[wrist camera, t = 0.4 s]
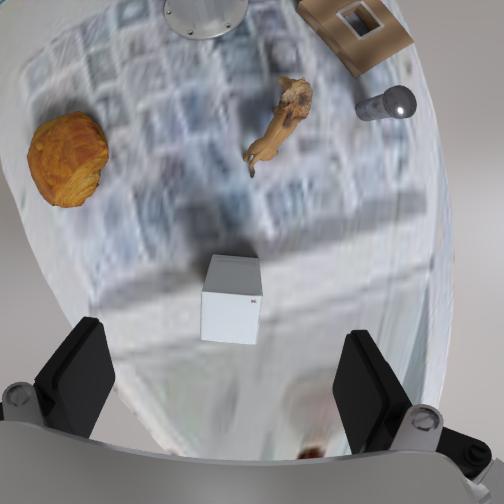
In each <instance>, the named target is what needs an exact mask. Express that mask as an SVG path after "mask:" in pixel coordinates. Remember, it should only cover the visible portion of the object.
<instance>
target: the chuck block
mask: <svg viewBox="0 0 504 504" xmlns="http://www.w3.org/2000/svg"><path fill="white" fill-rule="evenodd" d="M296 12H297V13H298V14H299V15H300V16H301V17H302V18H303V19H304V20H305V21H306V22H307V23H308V25H309V26H310V27H311V28H312V29H313V30H314V31H315V32H316V33H317V34H318V35H319V36H320V37H321V38H322V40H323V41H324V42H325V43H326V44H327V45H328V46H329V47H330V49H331V50H332V51H333V52H334V53H335V54H336V56H337V57H338V58H339V59H340V60H341V62H342V63H343V64H344V65H345V66H346V68H347V69H348V70H349V71H350V73H351V74H352V75H353V77H354V78H356V77H358V76H360V75H361V74H363V73H365V72H366V71H368V70H369V69H371V68H372V67H374V66H376V65H377V64H379V63H380V62H382V61H384V60H385V59H387V58H388V57H390V56H392V55H393V54H395V53H397V52H398V51H400V50H402V49H403V48H405V47H407V46H408V45H410V44H412V43H414V41H413V39H412V38H411V37H410V35H409V34H408V33H407V32H406V30H405V29H404V28H403V26H402V25H401V24H400V23H399V22H398V20H397V19H396V18H395V17H394V16H393V14H392V13H391V12H390V11H389V10H388V9H387V7H386V6H385V5H384V4H383V3H382V2H381V1H380V0H302V1H300V2H299V4H298V7H297V9H296ZM352 12H354V13H355V14H356V15H357V16H358V17H359V18H360V19H361V21H362V22H363V23H364V24H365V25H366V26H367V27H368V29H369V30H370V32H369V33H367V34H365V35H363V36H361V37H360V36H359V34H358V33H357V32H356V31H355V30H354V29H353V28H352V26H351V25H350V24H349V23H348V22H347V21H346V20H345V19H344V18H343V17H344V16H346V15H348V14H350V13H352Z"/></svg>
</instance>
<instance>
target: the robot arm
mask: <svg viewBox="0 0 504 504" xmlns="http://www.w3.org/2000/svg"><path fill="white" fill-rule="evenodd" d="M247 10H248V0H243V1H241V0H166V3H165V6H164V16H165V19H166V22H167V24H168V25H169V27H170V28H171V29H172V30H173V31H174V32H175V33H177V34H178V35H180V36H182V37H185V38H188V39H193V40H209V39H214V38H218V37H221V36H223V35H226V34H228V33H229V32H231V31H233V30H234V29H235V28H236V27H237V26H239V25H240V23H241V22H242V21H243V20H244V18H245V16H246V14H247ZM169 14H170V15H169ZM228 26H229V27H230V28H227V27H228ZM191 33H193V34H192V35H190V34H191ZM34 380H35V383H34V385H33V386H32V385H31V384H29V383H27V382H17V383H14V384H11V385H10V386H8V387H7V389H5V391H4V393H3V395H2V402H1V403H0V504H504V463H503V462H502V461H501V460H499V459H498V458H496V459H495V460H493V459H492V454H491V450H490V448H489V447H488V446H487V445H486V444H485V443H484V442H482V441H480V440H478V439H475V438H472V437H469V436H467V435H464V434H461V433H458V432H456V431H453V430H451V429H448V428H446V427H443V417H442V415H441V414H440V412H439V411H438V410H437V409H435V408H434V407H432V406H429V405H425V404H418V405H414V406H413V405H412V403H411V402H410V400H409V398H408V396H407V394H406V393H405V391H404V389H403V387H402V386H401V384H400V382H399V381H398V379H397V377H396V375H395V374H394V372H393V370H392V368H391V367H390V365H389V364H388V362H386V361H385V359H384V357H383V356H382V354H381V352H380V351H379V349H378V347H377V346H376V344H375V342H374V341H373V339H372V337H371V336H370V334H369V332H368V331H367V330H352V331H351V333H350V334H347V335H346V338H345V342H344V346H343V350H342V354H341V358H340V361H339V365H338V369H337V372H336V376H335V379H334V383H333V395H334V398H335V401H336V404H337V407H338V410H339V414H340V417H341V420H342V423H343V426H344V429H345V433H346V436H347V439H348V442H349V446H350V449H351V452H352V455H345V456H336V457H326V458H315V459H301V460H281V461H237V460H216V459H202V458H191V457H182V456H174V455H166V454H159V453H153V452H147V451H141V450H136V449H130V448H125V447H121V446H116V445H112V444H107V443H103V442H99V441H95V440H91V439H89V437H90V435H91V432H92V430H93V428H94V425H95V423H96V421H97V419H98V417H99V414H100V412H101V410H102V408H103V405H104V404H105V401H106V399H107V397H108V395H109V393H110V391H111V389H112V387H113V384H114V382H115V372H114V368H113V364H112V361H111V357H110V353H109V349H108V344H107V340H106V336H105V331H104V327H103V324H102V323H101V322H99V320H98V319H97V318H92V317H83V318H82V319H81V320H80V322H79V323H78V324H77V325H76V326H75V328H74V329H73V330H72V331H71V333H70V334H69V335H68V336H67V337H66V339H65V340H64V341H63V343H62V344H61V345H60V346H59V348H58V349H57V350H56V351H55V353H54V354H53V355H52V357H51V358H50V359H49V361H48V362H47V363H46V364H45V366H44V367H43V368H42V370H41V371H40V372H39V374H38V375H37V376H36V378H35V379H34Z"/></svg>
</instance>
